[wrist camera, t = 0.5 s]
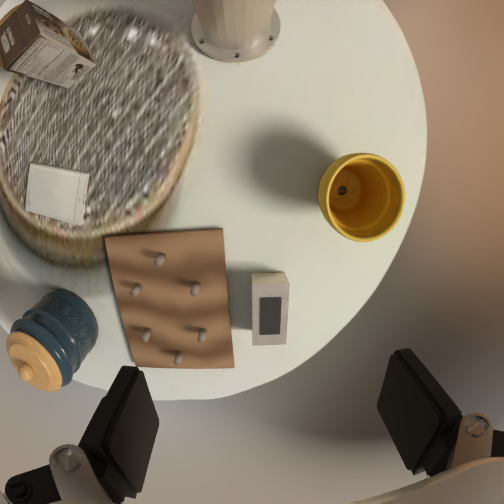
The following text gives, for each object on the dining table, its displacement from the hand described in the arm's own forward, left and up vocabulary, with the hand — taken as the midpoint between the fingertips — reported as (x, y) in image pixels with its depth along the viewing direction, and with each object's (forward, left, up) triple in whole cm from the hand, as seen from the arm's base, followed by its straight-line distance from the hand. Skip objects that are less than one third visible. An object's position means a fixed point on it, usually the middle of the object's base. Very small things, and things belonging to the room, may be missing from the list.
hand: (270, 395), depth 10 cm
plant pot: (-4, +13, -33) cm, 36 cm away
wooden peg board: (+13, -13, -33) cm, 37 cm away
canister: (+16, -34, -33) cm, 50 cm away
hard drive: (-7, -31, -33) cm, 46 cm away
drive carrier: (+13, +2, -33) cm, 35 cm away
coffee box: (-29, -27, -33) cm, 51 cm away
